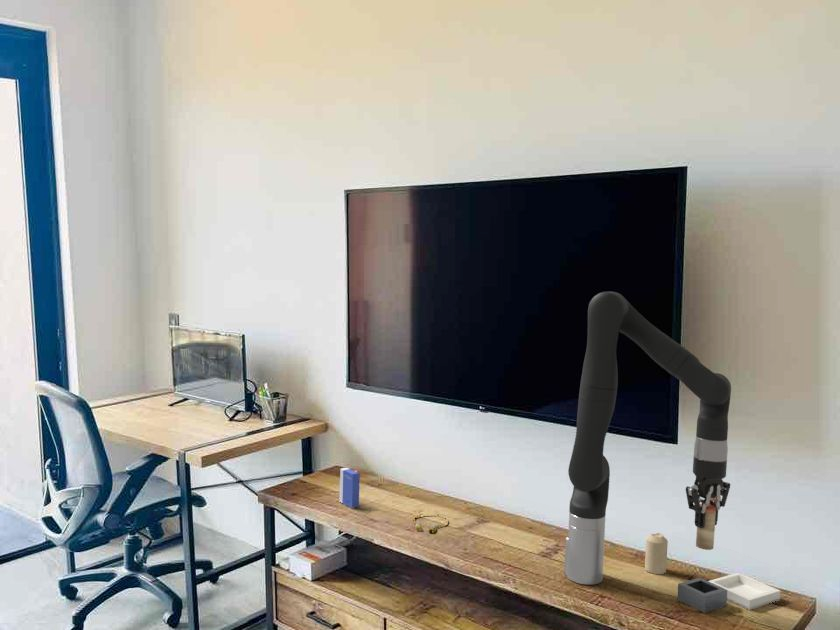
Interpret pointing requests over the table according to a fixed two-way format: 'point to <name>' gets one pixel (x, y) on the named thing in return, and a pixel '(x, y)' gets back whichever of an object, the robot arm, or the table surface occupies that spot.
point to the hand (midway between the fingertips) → (705, 525)
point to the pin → (707, 529)
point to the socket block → (702, 595)
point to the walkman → (349, 487)
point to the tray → (747, 591)
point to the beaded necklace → (419, 528)
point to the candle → (656, 553)
